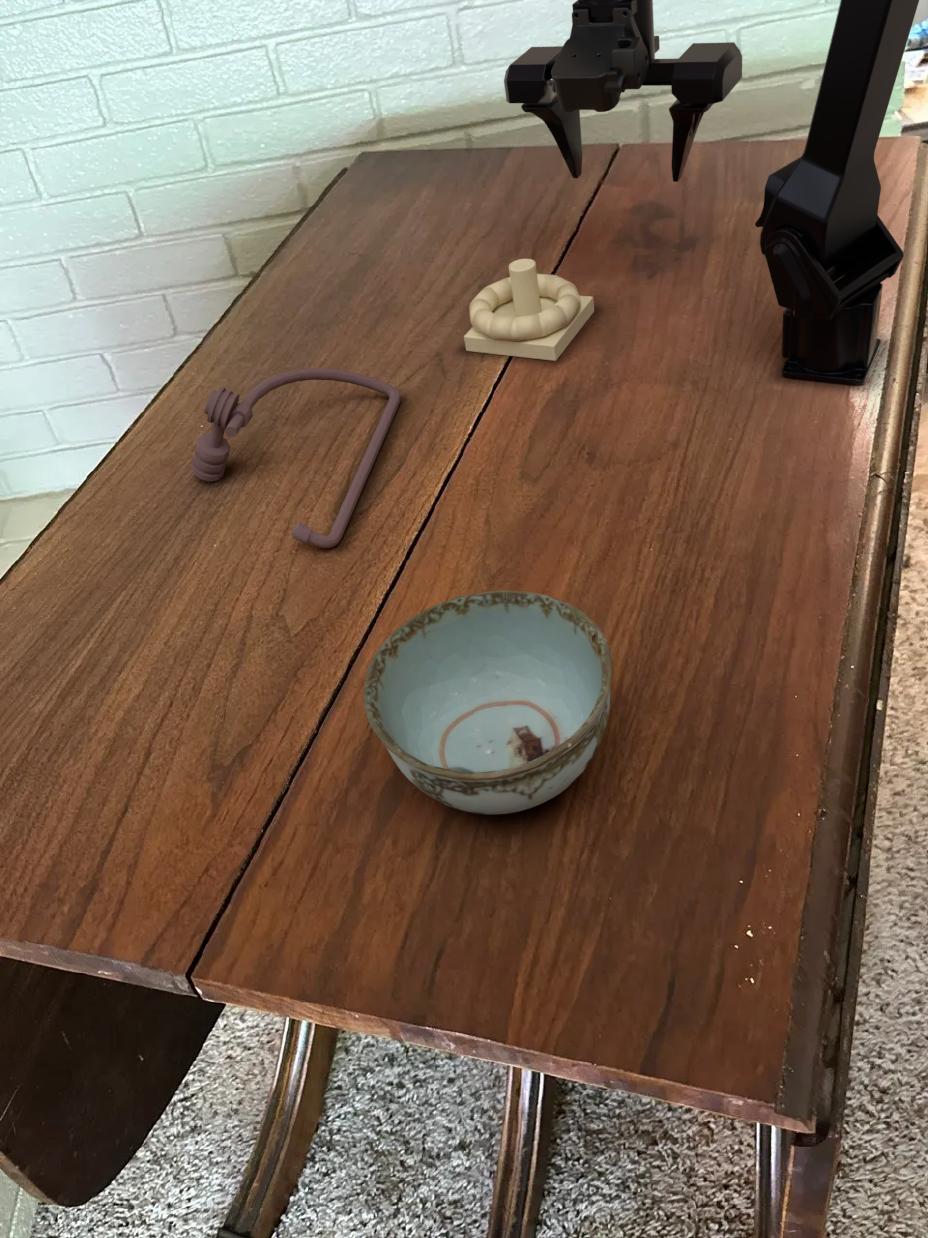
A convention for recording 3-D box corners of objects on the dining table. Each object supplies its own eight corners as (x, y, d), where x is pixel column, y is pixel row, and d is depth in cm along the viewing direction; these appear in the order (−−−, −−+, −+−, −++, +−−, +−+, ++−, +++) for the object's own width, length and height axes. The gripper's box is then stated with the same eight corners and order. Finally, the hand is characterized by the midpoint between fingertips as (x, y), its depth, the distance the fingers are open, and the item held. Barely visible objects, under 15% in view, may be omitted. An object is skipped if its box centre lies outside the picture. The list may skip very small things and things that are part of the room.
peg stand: (594, 311, 100) (588, 244, 96) (555, 361, 95) (547, 292, 91) (507, 303, 104) (498, 238, 100) (465, 351, 99) (454, 285, 95)
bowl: (666, 811, 59) (660, 714, 53) (436, 905, 57) (406, 814, 52) (566, 654, 69) (552, 558, 63) (366, 729, 67) (335, 637, 61)
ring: (597, 294, 100) (595, 273, 98) (553, 349, 94) (551, 328, 92) (500, 286, 104) (497, 266, 103) (452, 338, 98) (449, 318, 97)
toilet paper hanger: (340, 540, 79) (159, 463, 77) (311, 610, 85) (142, 540, 83) (409, 379, 94) (259, 312, 92) (380, 449, 100) (239, 387, 98)
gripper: (460, 14, 83) (490, 213, 93) (697, 5, 75) (700, 224, 85) (522, -30, 89) (543, 161, 100) (745, -42, 81) (742, 166, 92)
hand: (626, 178), depth 94 cm, fingers open, 9 cm apart
